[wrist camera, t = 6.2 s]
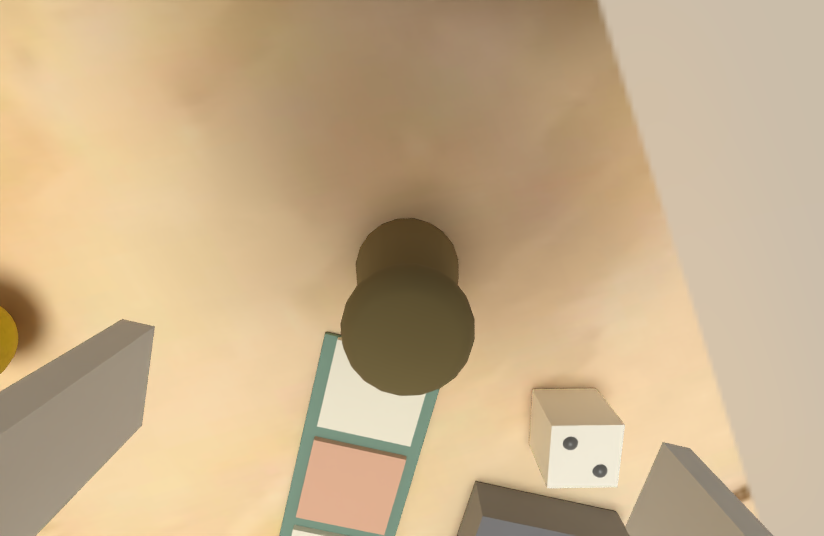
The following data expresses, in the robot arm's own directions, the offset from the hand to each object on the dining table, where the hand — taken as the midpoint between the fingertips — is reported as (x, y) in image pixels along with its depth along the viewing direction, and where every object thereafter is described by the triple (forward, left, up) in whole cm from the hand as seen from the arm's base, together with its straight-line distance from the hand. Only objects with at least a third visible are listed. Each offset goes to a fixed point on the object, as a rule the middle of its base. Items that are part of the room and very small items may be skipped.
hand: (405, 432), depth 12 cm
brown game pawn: (0, 0, -16) cm, 16 cm away
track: (+15, 0, -16) cm, 22 cm away
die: (+7, +12, -16) cm, 21 cm away
